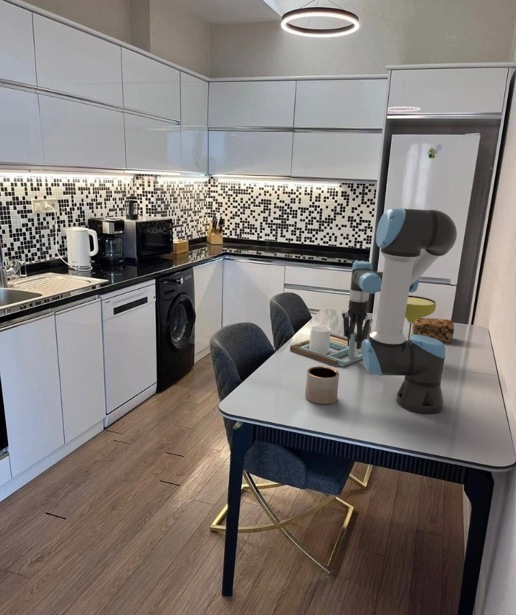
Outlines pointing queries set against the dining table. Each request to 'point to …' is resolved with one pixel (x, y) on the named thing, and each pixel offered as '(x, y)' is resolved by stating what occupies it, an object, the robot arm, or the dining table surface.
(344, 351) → the teal divided frame
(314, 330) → the mug
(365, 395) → the dining table surface
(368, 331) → the light wood drawer
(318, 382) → the planter
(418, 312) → the cocktail glass
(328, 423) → the dining table surface
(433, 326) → the bread
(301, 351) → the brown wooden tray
